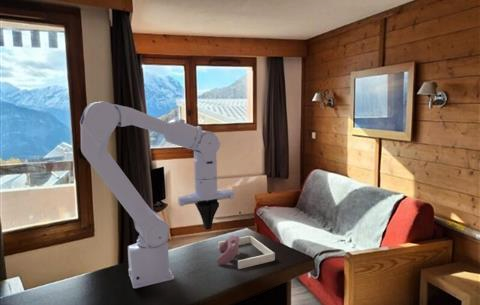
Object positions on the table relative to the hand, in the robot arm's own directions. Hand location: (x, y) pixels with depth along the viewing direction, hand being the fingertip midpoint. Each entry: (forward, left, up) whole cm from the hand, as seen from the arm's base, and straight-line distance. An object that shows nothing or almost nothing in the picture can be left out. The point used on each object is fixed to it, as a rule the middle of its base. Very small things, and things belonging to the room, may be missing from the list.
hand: (207, 228), depth 89 cm
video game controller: (+6, 0, -10) cm, 11 cm away
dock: (+10, 0, -9) cm, 14 cm away
